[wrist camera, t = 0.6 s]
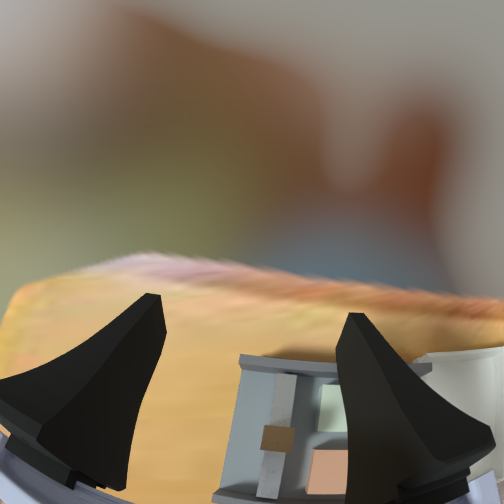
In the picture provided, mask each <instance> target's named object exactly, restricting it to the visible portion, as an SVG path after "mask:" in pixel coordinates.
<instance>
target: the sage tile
mask: <svg viewBox="0 0 504 504" xmlns="http://www.w3.org/2000/svg"><path fill="white" fill-rule="evenodd" d="M314 431H319V432H347V422H346V415H345V409H344V404H343V399H342V394H341V388H340V385H325V384H323V385H322V386H321V387H320V388H319V397H318V406H317V414H316V422H315V430H314Z"/></svg>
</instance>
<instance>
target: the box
mask: <svg viewBox="0 0 504 504" xmlns="http://www.w3.org/2000/svg"><path fill="white" fill-rule="evenodd" d="M430 362H432V371H431V372H430V373H428V374H426V375H424V376H422V377H420V378H421V379H422V380H423V381H424V382H425V383H426V384H427V385H428V386H430V387H431V388H432V389H433V390H434V391H435V392H437V393H438V394H439V395H440V396H442V397H443V398H444V399H446V400H447V401H448V402H450V403H451V404H452V405H454V406H455V407H457V408H458V409H460V410H461V411H463V412H465V413H466V414H468V415H469V416H471V417H473V418H475V419H477V420H479V421H481V422H483V423H485V424H487V425H488V426H490V428H491V431H492V433H493V436H494V439H495V443H496V447H495V448H494V450H492V451H491V452H490V453H489V454H488V455H486V456H485V457H484V458H482V459H481V460H479V461H478V462H476V463H475V464H473V465H472V466H470V467H469V468H470V472H471V474H470V475H469V476H467V482H469V481H470V480H472V479H474V478H476V477H478V476H480V475H482V474H484V473H486V472H488V471H489V470H491V469H493V470H494V474H495V478H496V482H497V483H499V482H502V481H504V346H503V347H495V348H486V349H477V350H466V351H452V352H435V353H427V354H425V355H424V356H422V357H418V358H416V359H415V360H413V361H412V363H430Z"/></svg>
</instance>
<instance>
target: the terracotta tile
mask: <svg viewBox="0 0 504 504" xmlns="http://www.w3.org/2000/svg"><path fill="white" fill-rule="evenodd" d="M347 470H348V449H315V448H312V450H311V457H310V463H309V469H308V474H307V480H306V485H305V491H306V493H307V494H346V486H347Z"/></svg>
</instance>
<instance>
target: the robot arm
mask: <svg viewBox="0 0 504 504" xmlns="http://www.w3.org/2000/svg"><path fill="white" fill-rule="evenodd" d="M166 334H167V331H166V325H165V319H164V313H163V307H162V301H161V295H157V294H150V293H146V294H144V295H143V296H142V297H140V298H139V299H138V300H137V301H136V302H134V303H133V304H132V305H131V306H130V307H129V308H127V309H126V310H125V311H124V312H123V313H121V314H120V315H119V316H118V317H116V318H115V319H114V320H113V321H112V322H110V323H109V324H108V325H106V326H105V327H104V328H102V329H101V330H100V331H98V332H97V333H96V334H94V335H93V336H92V337H90V338H89V339H88V340H86V341H85V342H83V343H82V344H80V345H78V346H77V347H75V348H74V349H72V350H70V351H69V352H67V353H65V354H63V355H61V356H59V357H58V358H56V359H54V360H52V361H50V362H48V363H46V364H44V365H41V366H39V367H37V368H34V369H32V370H29V371H27V372H24V373H21V374H18V375H15V376H11V377H8V378H4V379H0V424H2V425H3V426H4V427H5V428H6V429H7V430H8V431H9V432H10V433H11V435H10V437H9V438H8V437H7V436H6V435H4V434H3V433H2V432H1V431H0V498H1V499H2V500H3V501H4V502H5V503H6V504H134V503H131V502H128V501H125V500H122V499H120V498H117V497H114V496H112V495H109V494H106V493H104V492H101V491H99V490H97V489H96V486H98V487H100V488H103V489H105V488H106V487H108V488H110V489H113V490H116V491H121V490H124V489H125V488H126V481H127V471H128V462H129V456H130V450H131V444H132V439H133V434H134V429H135V425H136V421H137V417H138V413H139V409H140V406H141V403H142V400H143V397H144V395H145V392H146V390H147V387H148V385H149V382H150V380H151V377H152V375H153V373H154V370H155V368H156V365H157V363H158V360H159V358H160V355H161V352H162V349H163V345H164V342H165V338H166ZM336 363H337V373H338V378H339V383H340V388H341V394H342V399H343V404H344V409H345V415H346V422H347V436H348V470H347V486H346V495H345V503H344V504H501V501H500V496H499V491H498V486H497V482H496V478H495V474H494V470H493V469H491V470H489V471H488V472H486V473H484V474H482V475H480V476H478V477H476V478H474V479H472V480H470V481H469V482H467V476H469V475H470V474H471V472H470V468H469V467H470V466H472V465H473V464H475V463H476V462H478V461H479V460H481V459H482V458H484V457H485V456H486V455H488V454H489V453H490V452H491V451H492V450H494V448H495V447H496V443H495V439H494V436H493V433H492V431H491V428H490V426H488V425H487V424H485V423H483V422H481V421H479V420H477V419H475V418H473V417H471V416H469V415H468V414H466V413H465V412H463V411H461V410H460V409H458V408H457V407H455V406H454V405H452V404H451V403H450V402H448V401H447V400H446V399H444V398H443V397H442V396H440V395H439V394H438V393H437V392H435V391H434V390H433V389H432V388H431V387H430V386H428V385H427V384H426V383H425V382H424V381H423V380H422V379H421V378H420V377H419V376H418V375H417V374H416V373H415V372H414V371H413V370H412V369H411V368H410V367H409V366H408V365H407V364H406V363H405V362H404V361H403V360H402V358H401V357H400V356H399V355H398V354H397V353H396V352H395V350H394V349H393V348H392V347H391V346H390V345H389V343H388V342H387V341H386V340H385V338H384V337H383V336H382V335H381V334H380V332H379V331H378V330H377V329H376V327H375V326H374V325H373V324H372V322H371V321H370V320H369V319H368V318H367V316H366V315H365V314H364V313H350V312H349V314H348V317H347V320H346V322H345V325H344V328H343V330H342V333H341V336H340V338H339V341H338V343H337V346H336Z"/></svg>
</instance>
